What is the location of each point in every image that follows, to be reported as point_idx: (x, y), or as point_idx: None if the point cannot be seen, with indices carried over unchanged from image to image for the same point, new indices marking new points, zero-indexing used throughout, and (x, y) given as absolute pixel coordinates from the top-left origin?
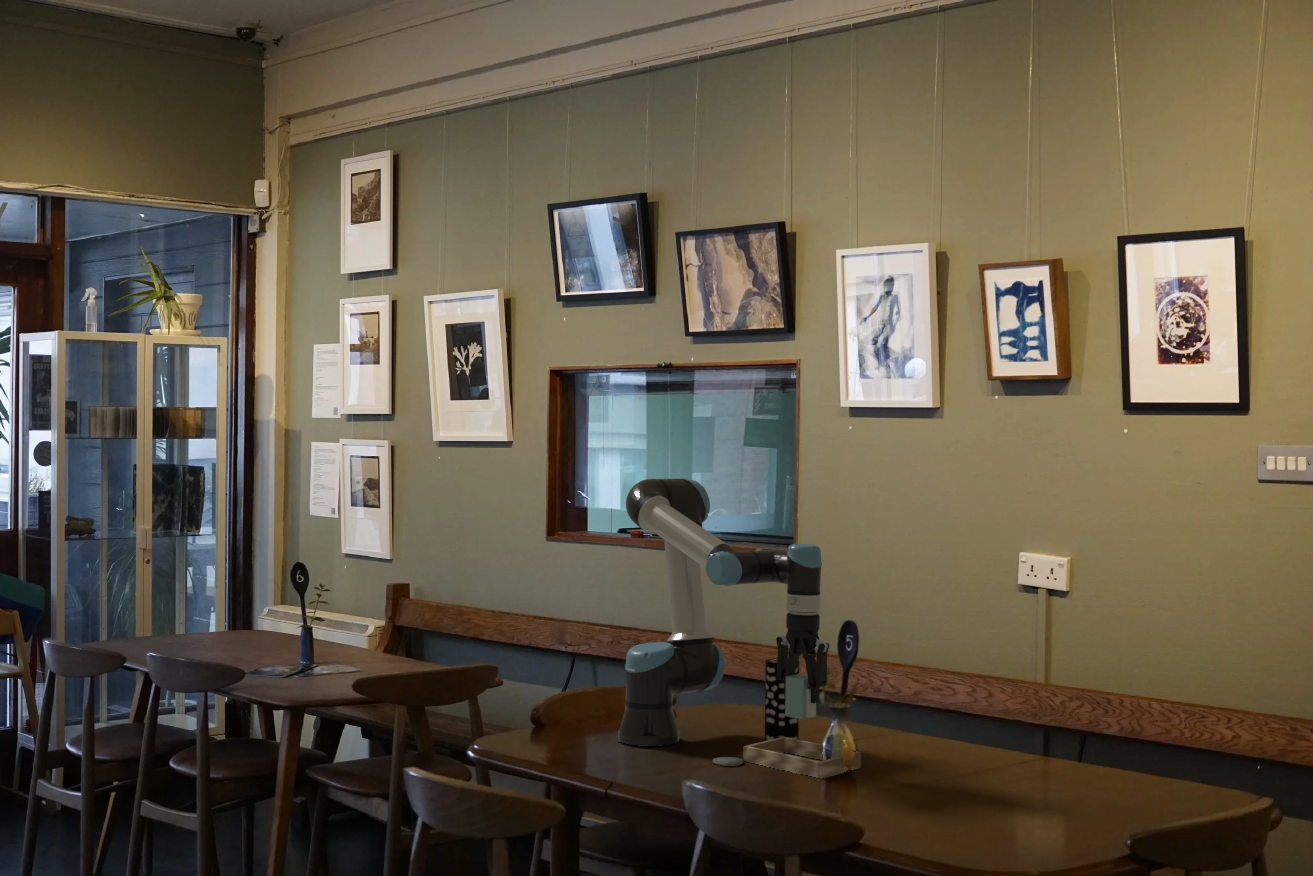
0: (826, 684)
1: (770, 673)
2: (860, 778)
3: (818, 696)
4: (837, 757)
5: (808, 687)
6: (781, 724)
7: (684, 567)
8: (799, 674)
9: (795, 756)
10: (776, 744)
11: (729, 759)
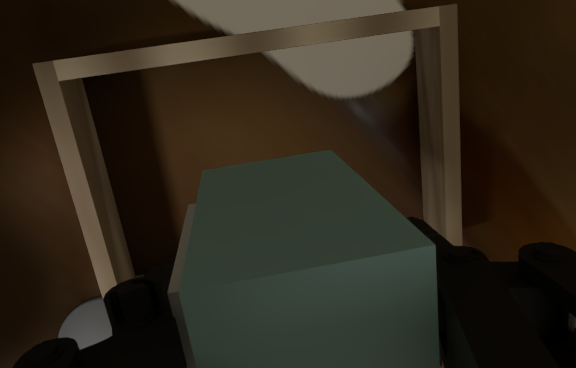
0: (566, 250)
1: None
2: (510, 126)
3: (439, 235)
4: (450, 155)
5: (441, 358)
6: None
7: None
8: (213, 317)
9: None
10: (82, 135)
11: (101, 334)
